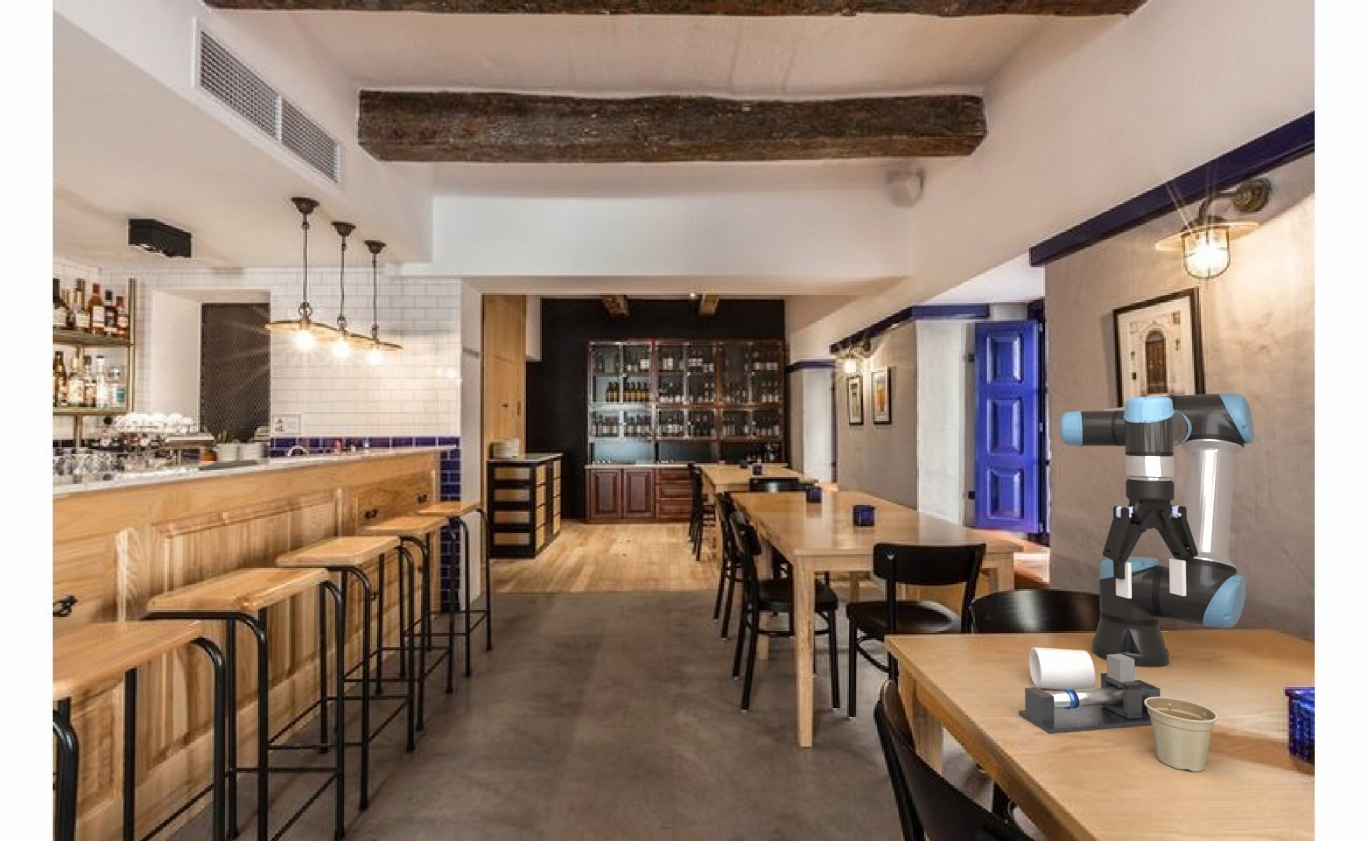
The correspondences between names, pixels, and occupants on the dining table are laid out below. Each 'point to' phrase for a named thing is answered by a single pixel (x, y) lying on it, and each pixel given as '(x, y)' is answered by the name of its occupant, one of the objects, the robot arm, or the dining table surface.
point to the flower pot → (1181, 731)
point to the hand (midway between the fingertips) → (1151, 595)
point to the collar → (1123, 685)
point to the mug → (1061, 669)
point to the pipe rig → (1081, 709)
